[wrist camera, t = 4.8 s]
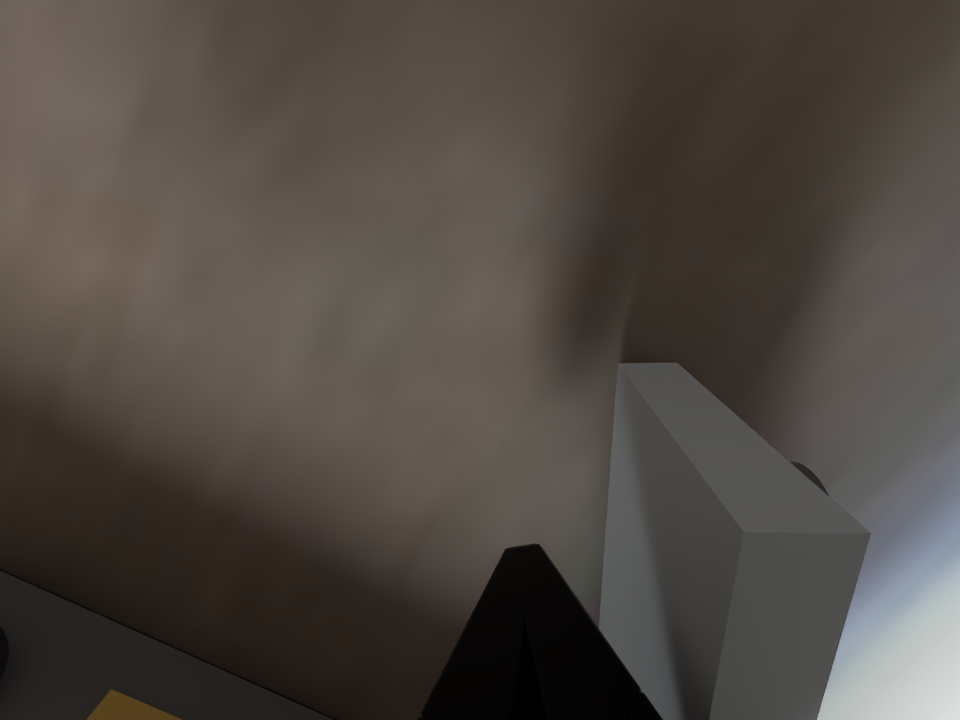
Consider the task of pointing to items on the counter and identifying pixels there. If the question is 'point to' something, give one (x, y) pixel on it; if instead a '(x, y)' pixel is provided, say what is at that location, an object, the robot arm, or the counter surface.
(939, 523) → the counter surface
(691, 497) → the side door
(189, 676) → the gray rectangular box
